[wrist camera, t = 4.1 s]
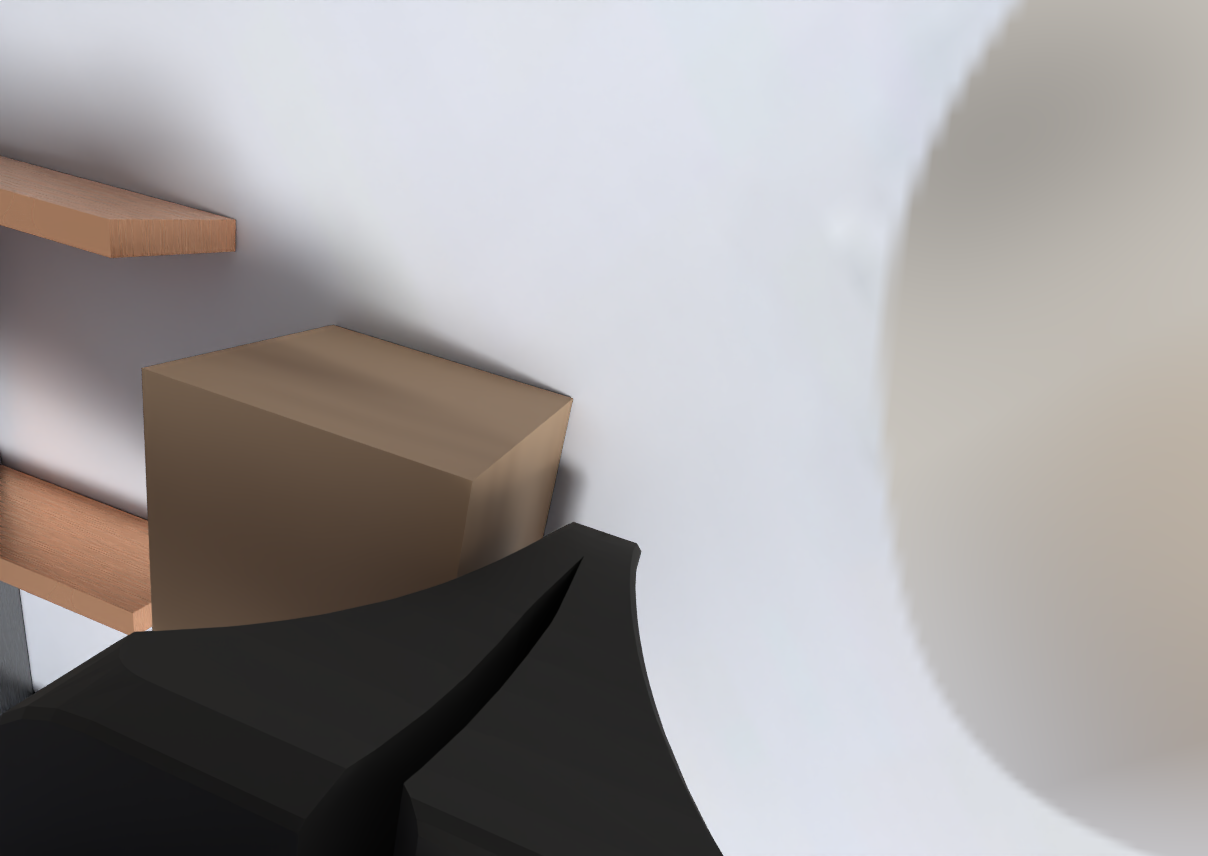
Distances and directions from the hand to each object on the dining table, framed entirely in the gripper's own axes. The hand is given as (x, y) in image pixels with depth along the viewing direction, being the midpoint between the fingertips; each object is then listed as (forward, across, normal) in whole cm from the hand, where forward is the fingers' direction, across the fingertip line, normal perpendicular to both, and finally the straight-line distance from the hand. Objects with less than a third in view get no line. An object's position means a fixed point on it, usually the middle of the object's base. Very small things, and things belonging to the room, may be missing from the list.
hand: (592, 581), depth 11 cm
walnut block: (+1, +4, 0) cm, 4 cm away
